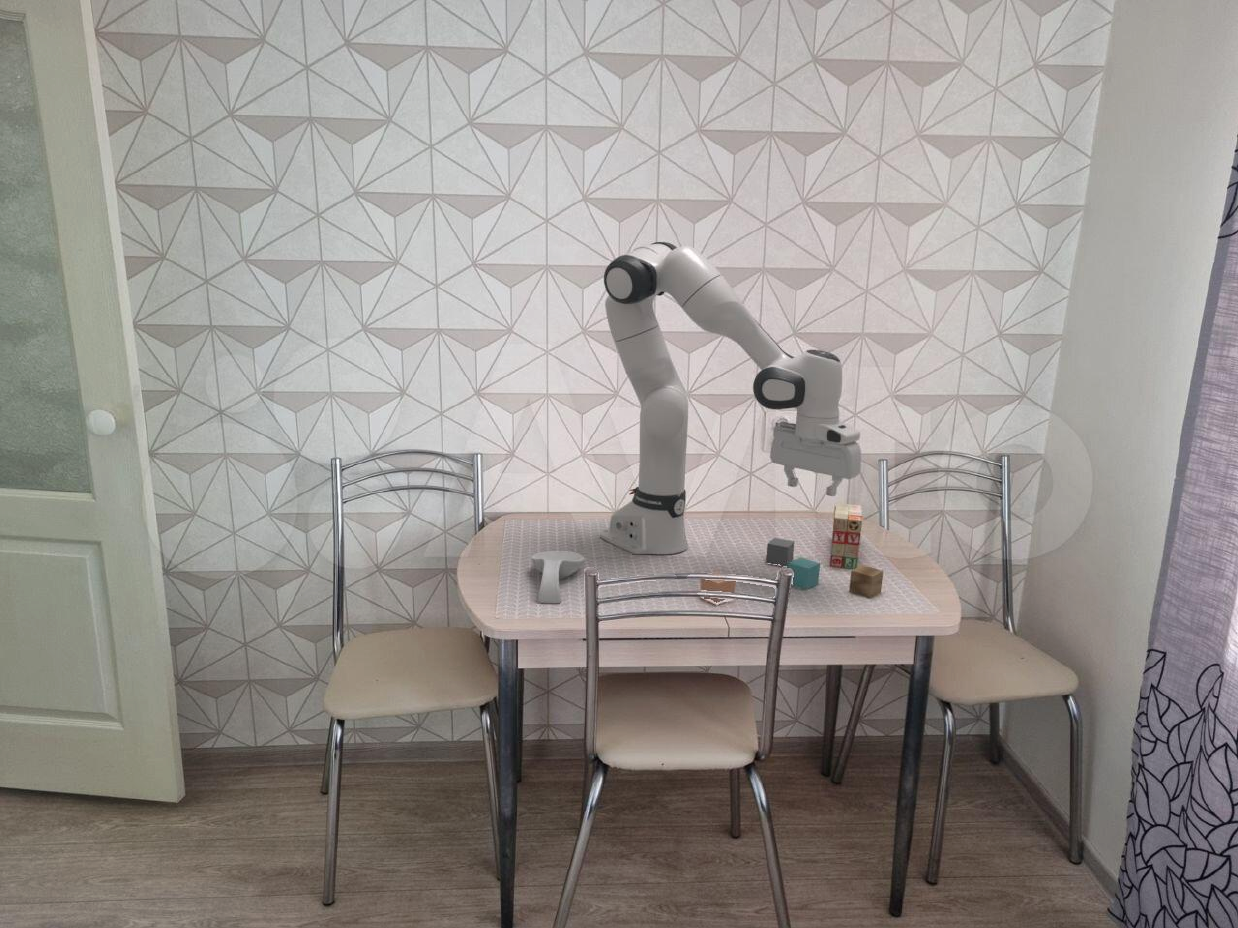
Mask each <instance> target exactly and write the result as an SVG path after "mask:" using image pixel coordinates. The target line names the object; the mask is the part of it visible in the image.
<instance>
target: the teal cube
mask: <svg viewBox="0 0 1238 928" xmlns="http://www.w3.org/2000/svg"><path fill="white" fill-rule="evenodd" d="M788 568H791V569H792V570H793V572H794V577H793V587H796V588H799V589H802V590H805V591H807V590H811V588H814V587H815V586H818V585H819V581H820V579H819V578H820V569H821V562H818V561H814V560H812V559H811V560H810V559H808V558H803V557H798V558H795V559H793V561H791V562H789V563H788V567H787V569H788Z"/></svg>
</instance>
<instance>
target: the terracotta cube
mask: <svg viewBox="0 0 1238 928" xmlns="http://www.w3.org/2000/svg"><path fill="white" fill-rule="evenodd" d="M711 573H712V574H725V573H723V572H721V571H714V572H711ZM701 590H707V591H722V592H731V593H734V594H735V592H736V591H735V590H736V580H735V581H725V580H705V579H700V591H701ZM704 599H711V600H713V601H714V602H716V603H717V602H720V601H723V600H725V599H718V598H710V597H704Z"/></svg>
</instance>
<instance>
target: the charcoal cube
mask: <svg viewBox="0 0 1238 928" xmlns="http://www.w3.org/2000/svg"><path fill="white" fill-rule="evenodd" d="M794 553H795V541H794V540H789V539H783V538H778V537H773V538H772V539H771V540H770V541H768V542H767V546H766V561H765V564H766V563H771V564H777V565H778V564H780V565H781V566H780V567H782V566H787V568H788V563H789V562H791V561H794V555H795V554H794ZM771 564H770V565H771ZM782 568H783V567H782Z"/></svg>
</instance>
